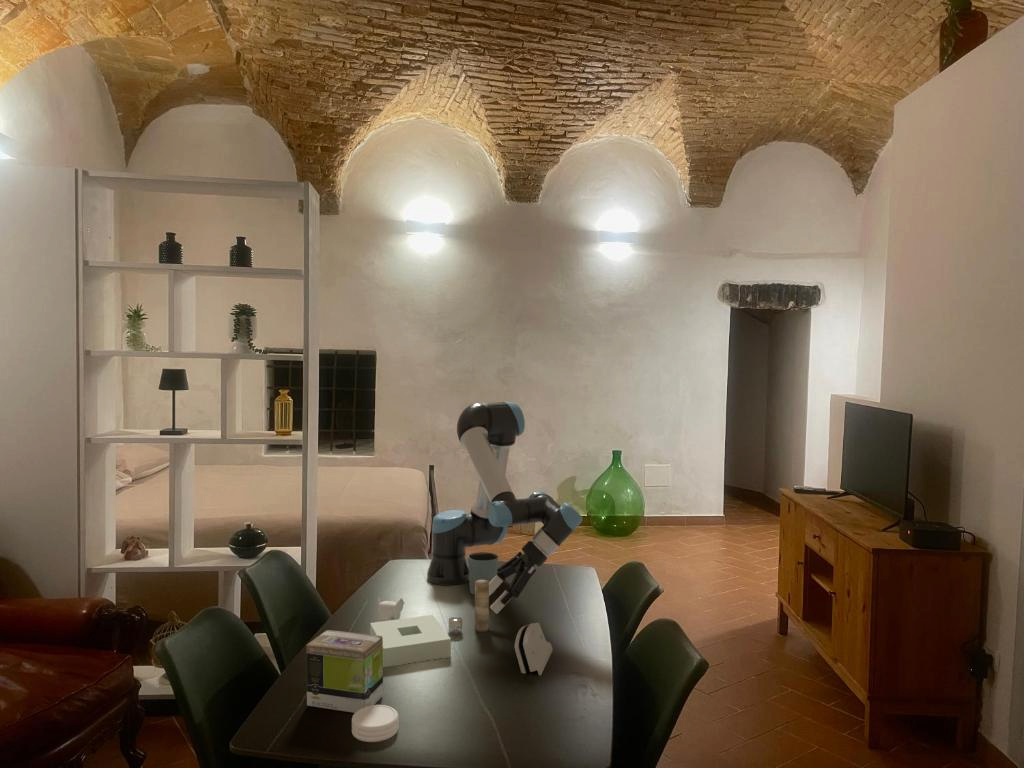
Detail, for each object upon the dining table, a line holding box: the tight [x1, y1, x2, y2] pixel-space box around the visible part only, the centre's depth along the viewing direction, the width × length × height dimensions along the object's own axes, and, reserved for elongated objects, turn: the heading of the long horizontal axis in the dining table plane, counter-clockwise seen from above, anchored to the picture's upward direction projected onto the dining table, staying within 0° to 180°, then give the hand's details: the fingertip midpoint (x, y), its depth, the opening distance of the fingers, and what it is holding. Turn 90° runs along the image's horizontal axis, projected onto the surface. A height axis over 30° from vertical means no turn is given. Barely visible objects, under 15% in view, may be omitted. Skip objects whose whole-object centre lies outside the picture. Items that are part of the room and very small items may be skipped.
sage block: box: [369, 614, 452, 668], centre depth 201 cm, size 18×18×5 cm
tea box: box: [305, 629, 384, 714], centre depth 172 cm, size 15×10×15 cm
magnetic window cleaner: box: [514, 622, 554, 676], centre depth 195 cm, size 17×5×10 cm, turn 166°
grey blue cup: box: [467, 551, 499, 596], centre depth 247 cm, size 10×10×12 cm
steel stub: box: [447, 616, 463, 637], centre depth 213 cm, size 4×4×4 cm
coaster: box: [351, 704, 400, 743], centre depth 160 cm, size 10×10×4 cm
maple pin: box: [474, 580, 490, 633], centre depth 215 cm, size 4×4×14 cm
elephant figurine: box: [376, 595, 405, 622], centre depth 220 cm, size 8×10×7 cm
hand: (488, 602), depth 215 cm, fingers open, 13 cm apart
